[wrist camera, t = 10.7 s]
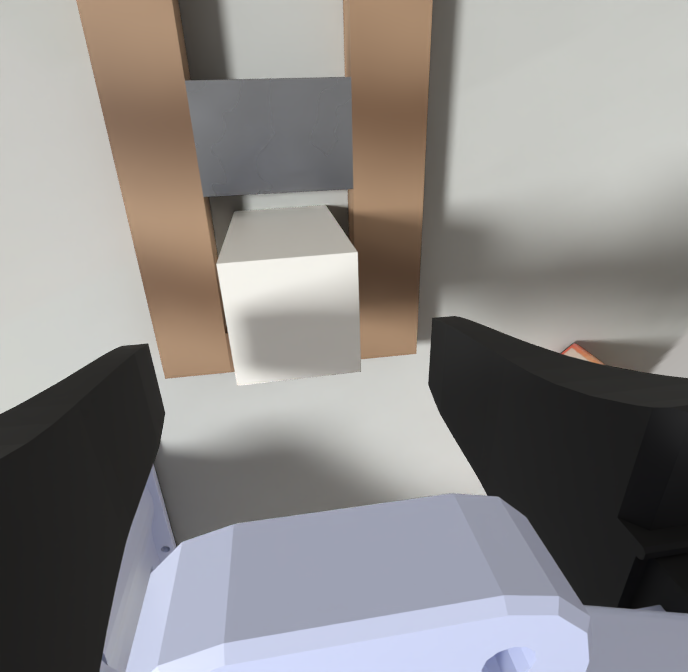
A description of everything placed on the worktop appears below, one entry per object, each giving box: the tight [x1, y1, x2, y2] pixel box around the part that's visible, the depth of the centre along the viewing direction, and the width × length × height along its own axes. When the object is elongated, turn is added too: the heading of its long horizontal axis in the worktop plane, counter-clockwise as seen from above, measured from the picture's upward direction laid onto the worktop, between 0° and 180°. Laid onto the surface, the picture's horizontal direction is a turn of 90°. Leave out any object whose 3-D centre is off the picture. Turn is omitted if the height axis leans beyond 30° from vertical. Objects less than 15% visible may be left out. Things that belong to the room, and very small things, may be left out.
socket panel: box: [76, 0, 433, 379], centre depth 18 cm, size 20×12×2 cm, turn 1°
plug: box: [216, 205, 361, 386], centre depth 17 cm, size 4×4×8 cm
